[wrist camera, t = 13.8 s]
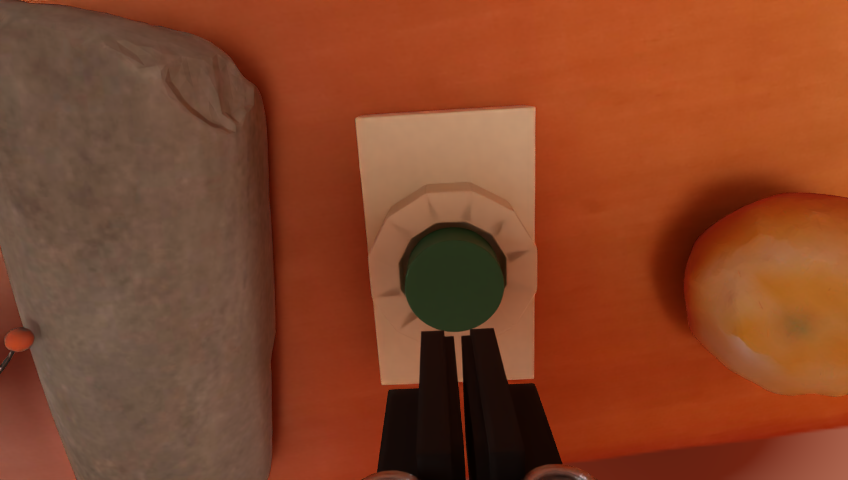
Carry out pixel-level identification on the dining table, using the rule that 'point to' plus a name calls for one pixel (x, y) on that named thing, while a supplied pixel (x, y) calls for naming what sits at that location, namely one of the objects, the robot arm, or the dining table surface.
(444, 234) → the button
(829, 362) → the fruit
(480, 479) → the robot arm
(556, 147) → the dining table surface
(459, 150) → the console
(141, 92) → the stone
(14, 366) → the dining table surface
